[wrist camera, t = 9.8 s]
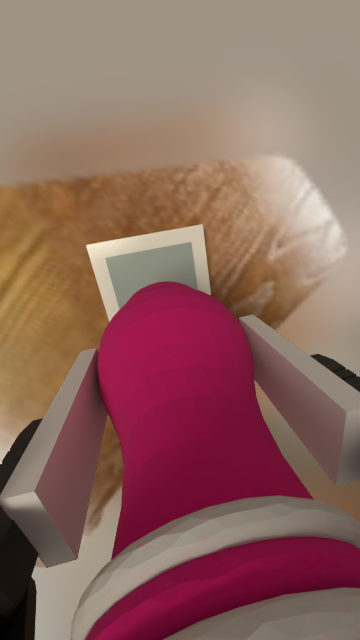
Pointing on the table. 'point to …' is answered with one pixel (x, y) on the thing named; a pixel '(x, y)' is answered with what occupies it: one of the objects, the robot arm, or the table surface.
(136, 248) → the base
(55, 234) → the table surface
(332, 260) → the table surface
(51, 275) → the table surface
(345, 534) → the pepper mill
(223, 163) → the table surface
